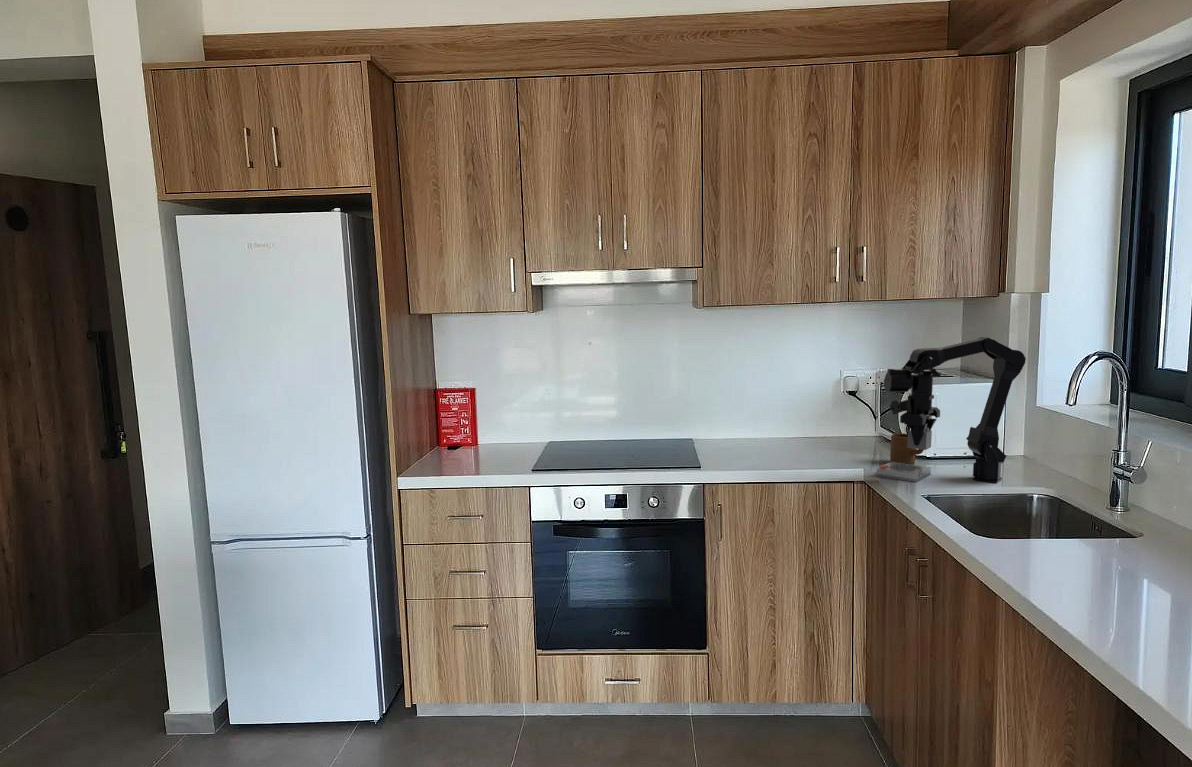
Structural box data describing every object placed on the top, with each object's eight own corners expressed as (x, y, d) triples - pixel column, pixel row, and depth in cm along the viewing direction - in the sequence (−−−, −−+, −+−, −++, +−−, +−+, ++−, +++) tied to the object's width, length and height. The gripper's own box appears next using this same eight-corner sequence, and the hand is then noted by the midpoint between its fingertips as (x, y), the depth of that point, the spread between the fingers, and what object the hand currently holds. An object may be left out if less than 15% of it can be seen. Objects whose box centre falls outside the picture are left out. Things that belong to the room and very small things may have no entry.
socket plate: (930, 474, 228) (930, 465, 228) (916, 482, 220) (917, 472, 219) (891, 468, 236) (891, 459, 236) (876, 476, 228) (876, 466, 227)
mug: (931, 467, 238) (932, 438, 237) (914, 470, 235) (915, 440, 234) (901, 460, 249) (902, 432, 248) (884, 462, 245) (885, 434, 244)
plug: (931, 447, 221) (931, 427, 220) (925, 449, 217) (926, 430, 216) (912, 444, 224) (913, 426, 223) (907, 447, 220) (908, 428, 219)
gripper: (903, 386, 231) (901, 436, 233) (883, 393, 216) (881, 445, 218) (941, 389, 224) (939, 440, 225) (923, 396, 209) (920, 450, 211)
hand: (919, 443), depth 220 cm, fingers closed on plug, 5 cm apart
